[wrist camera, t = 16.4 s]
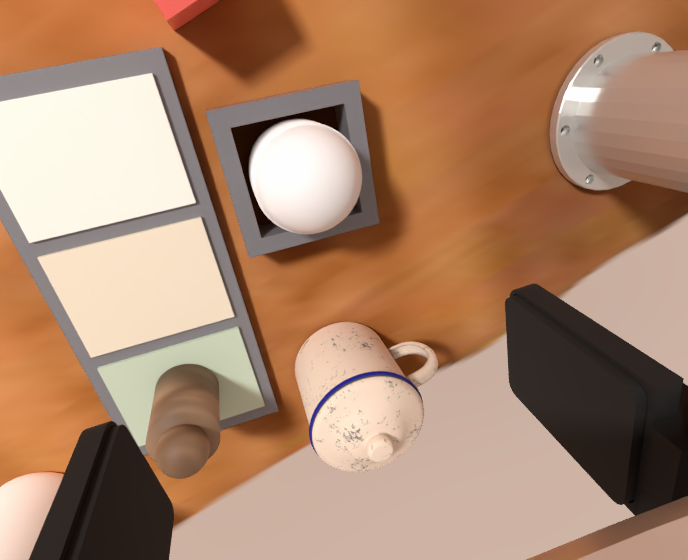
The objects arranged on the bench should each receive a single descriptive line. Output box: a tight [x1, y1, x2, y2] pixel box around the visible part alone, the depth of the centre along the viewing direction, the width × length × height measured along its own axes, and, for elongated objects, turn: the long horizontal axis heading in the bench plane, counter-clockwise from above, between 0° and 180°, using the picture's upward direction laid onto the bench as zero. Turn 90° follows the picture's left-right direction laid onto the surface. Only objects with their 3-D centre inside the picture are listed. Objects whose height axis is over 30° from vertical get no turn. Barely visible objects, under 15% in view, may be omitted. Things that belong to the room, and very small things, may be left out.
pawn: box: [146, 364, 220, 479], centre depth 33 cm, size 5×5×9 cm
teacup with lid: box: [295, 322, 438, 472], centre depth 36 cm, size 12×9×12 cm
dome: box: [248, 118, 362, 234], centre depth 28 cm, size 7×7×7 cm
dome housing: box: [206, 80, 380, 258], centre depth 31 cm, size 10×10×3 cm
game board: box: [0, 47, 279, 455], centre depth 33 cm, size 13×30×1 cm, turn 11°
